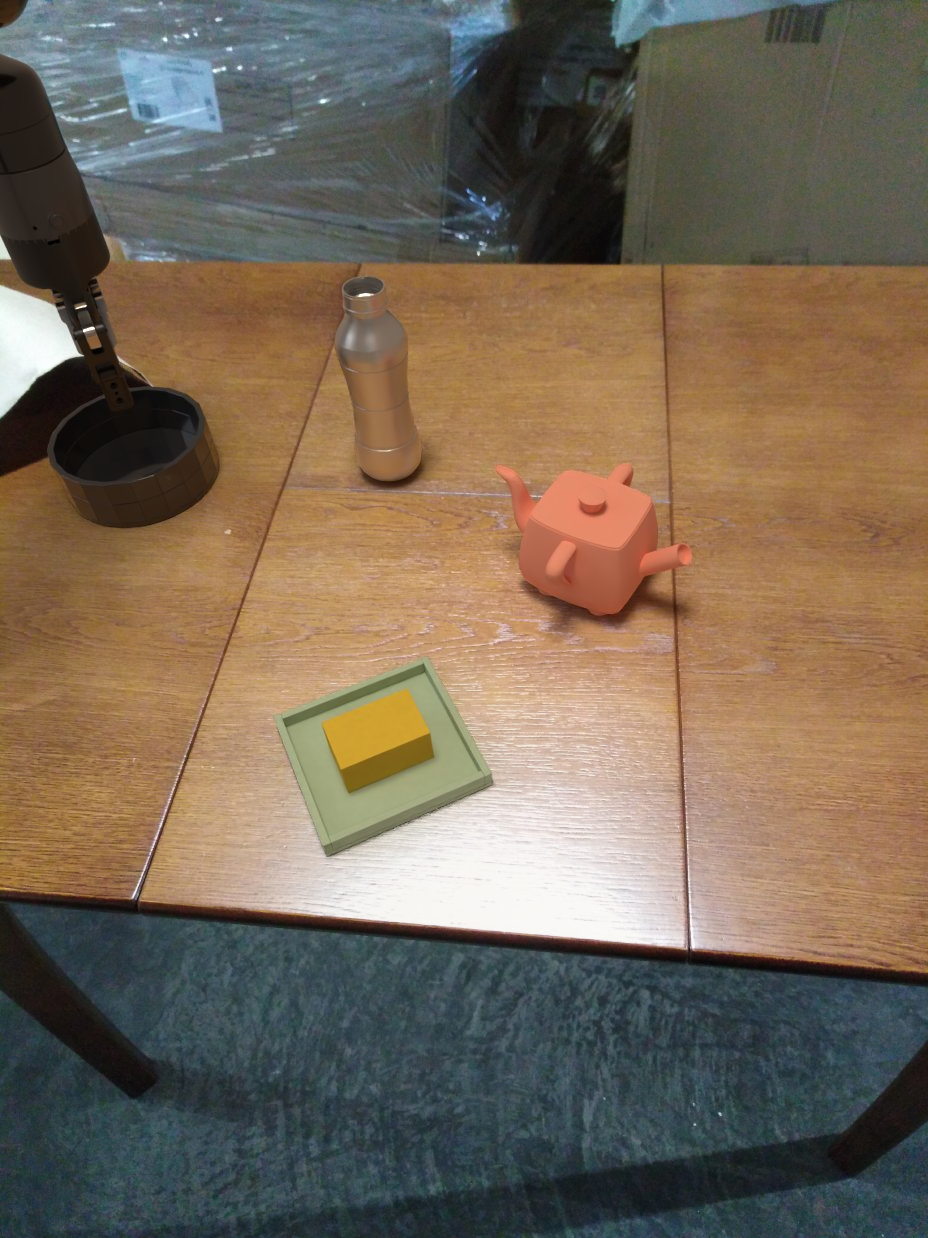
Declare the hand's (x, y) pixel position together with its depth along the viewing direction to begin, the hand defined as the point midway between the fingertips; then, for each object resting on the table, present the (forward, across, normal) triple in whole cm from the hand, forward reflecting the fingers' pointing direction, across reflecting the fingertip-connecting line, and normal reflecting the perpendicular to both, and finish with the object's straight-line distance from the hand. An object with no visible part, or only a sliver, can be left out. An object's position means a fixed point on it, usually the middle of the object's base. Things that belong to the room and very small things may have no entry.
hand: (117, 390), depth 84 cm
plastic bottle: (+10, +11, +22) cm, 27 cm away
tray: (+10, +42, +9) cm, 44 cm away
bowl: (+10, 0, -1) cm, 10 cm away
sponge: (+10, +42, +9) cm, 44 cm away
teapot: (+10, +33, +32) cm, 47 cm away
